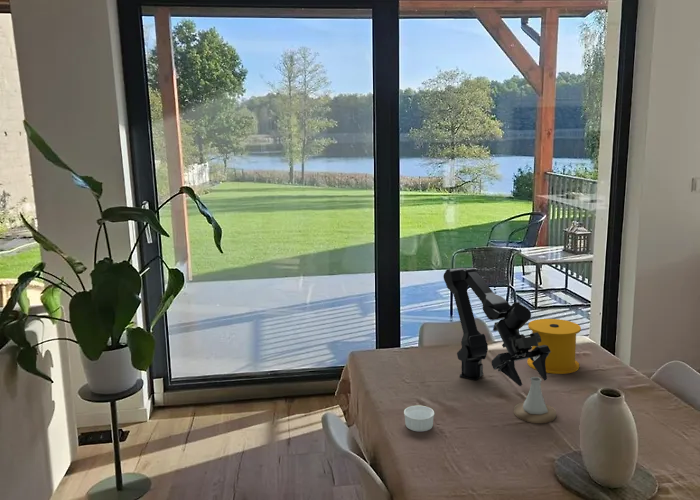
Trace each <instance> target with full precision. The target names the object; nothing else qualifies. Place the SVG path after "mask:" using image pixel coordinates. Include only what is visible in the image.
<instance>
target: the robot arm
mask: <svg viewBox="0 0 700 500" xmlns="http://www.w3.org/2000/svg"><path fill="white" fill-rule="evenodd" d="M442 277H443V281H444V283H445V285H446V288H447V289H448V290H449V291H450V292H451V293H452V295H453V298H454V302H455V305H456V309H457V313H458V318H459V322H460V324H461V325H460V326H461V328H462V333H463V334H462V337H461V341H460V344H461V348H460V349H459V350H458V351H457V353H456V355H457V359H458V360H459V361H460V362H461V374H459V378H465V379H469V380H473V381H477V380H479V379H480V378H481V377H482V376H483V375H484V364H483V362H482V360H486V358H487V355H488V351H489V344H488V342H487V339H486V335H485V334H484V333H481V332H480V331H479V330H478V327H477V324H476V319H475V315H474V313H473V309H472V308H473V307H472V304H471V301H470V297H469V296H470V295H469V293H468V288H470V289H471V291H472V292H473V293H474V294H475V295H476V297H477V298H478V299H479V300H480V302H481V303H482V311H483V313H484V315H485V316H486V317H487V319H488V320H489V321H495V320H499V321H496V322H494V325H493V327H492V330H493V332H498V334H499V336H500V338H501V340H502V342H503V343H502V344H501V346H502V348H505V349H506V351H507V352H502V353H498V354H496V356H495V357H494V358H493V359H491V366H492V369H493V371H495V370H497V371H498V372H501V373H502V374H504V375H505V376H507V377H508V378H509V379H511V380H512V381H513V382H514V383H515V384H517V385H518V386H519V387H522V386H523V383H522V379H521V377H520V376H519V373H518V371H517V369H516V366H515V365H516V364H515V362H518V361H523V360H528V358H530V359H531V360H532V361H534V362H533V363H532V364H533V365H534V367H535V368H536V370H535V371H537V373H538V374H539V376H540V378H541V379H542V380H543V381H547V380H548V373H546V366H545V360H546V357H548V356H549V353H550V352H551V351H550V349H549V347H548V346H547V345H542V346H538V343H539V342H541V337H540V335H539V334H538V332H535V333H532V332H531V333H530V334H529V336H525V334H522V333H521V334H520V332H519V330H520V329H522V327H523V326H525V325H526V324H527V322H529V320H530V319H531V318H532V312H531V310H530V309H529V308H528V307H526V306H525V305H523V304H521V302H520V301H517V302H513V303H512V304H510V303H509V302H508V301H507V300H506V299H505V298H504V297H502V296H501V295H498V294H496V293H495V292H494V291H493V290H492V289H491V288H490V287H489V285H488V284H487V283H486V281H485V280H484V279H483V278H482V276H481V275H480V274H479V272H478V269H477V268H475V267H467V268H465V267H456V268H447V269H445V272H444V273H443V276H442ZM532 346H537V347H535V348H534V349H533V350H532Z"/></svg>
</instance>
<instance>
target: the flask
mask: <svg viewBox="0 0 700 500" xmlns="http://www.w3.org/2000/svg"><path fill="white" fill-rule="evenodd" d="M542 380H543V379H542V377H539V376H532V377H530V381H531V382H530V387H529V388H530V389H529V391H528V393H527V396H526V398H525V399H524V401H523V402H524V404H523V409H524V411H526V412H528V413H530V414H540V415H541V414H544V413H547V412H548V410H547V407H546V405H545V404H546V402H545V399H544V396H543V393H542V387H541V383H542Z"/></svg>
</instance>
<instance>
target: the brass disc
mask: <svg viewBox="0 0 700 500" xmlns="http://www.w3.org/2000/svg"><path fill="white" fill-rule="evenodd" d="M524 402H525V401H523V402H522V401H521V402H519V403H517V404H515V406H514V407H513V414H514V416H515V417H516V418H518V419H520V420H521V421H523V422H527V423H532V424H548V423H551V422H553V421H555V420H556V418H557V411H556V409H555V408H554V407H553V406H551V405H549V404H547V403H545V405H546V407H547V410H548V412H547V413H544V414H541V415H540V414H530V413H528V412H526V411H524V409H523V404H524Z"/></svg>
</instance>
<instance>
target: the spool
mask: <svg viewBox="0 0 700 500" xmlns="http://www.w3.org/2000/svg"><path fill="white" fill-rule="evenodd" d="M527 327H528V329H529V330H530V331H531V333H535V332H538V334H539V335H540V337H541V342H539V343H538V346H542V345H547V346H548V347H549V349H550V351H551V352H550V353H549V356H548V357H546V360H545V366H546V374H554V375H563V374H571V373H575V372H577V371H578V370H579V368H580V363H579V362H578V361H577V360H576V350H577V334H579V333H581V332H582V326H580V325H579V324H578V323H576V322H573V321H571V320H566V319H559V318H539V319H534V320H531V321H530V322H529V321H528V325H527ZM531 347H532V349H531V351H532V350H533V349H534V348H535V347H537V346H531ZM526 360H527V361H526V362H527V365H528V367H530V368H531V369H533V370H535V371H537V370H536V368H535V367H534V365H533V364H532V363H533V362H534V361H532V360H531V359H530V358H528V359H526Z"/></svg>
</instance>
